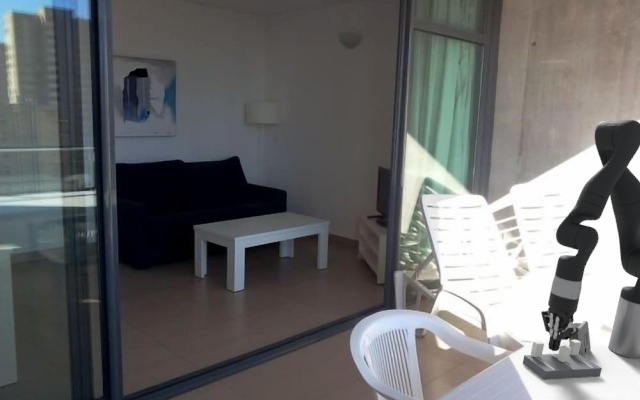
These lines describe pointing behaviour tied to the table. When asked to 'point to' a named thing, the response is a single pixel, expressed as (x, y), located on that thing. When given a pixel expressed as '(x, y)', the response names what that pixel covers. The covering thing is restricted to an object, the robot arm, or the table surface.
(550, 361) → the block
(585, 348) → the electrical switch
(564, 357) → the knob
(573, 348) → the inner knob
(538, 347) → the outer knob
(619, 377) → the table surface
